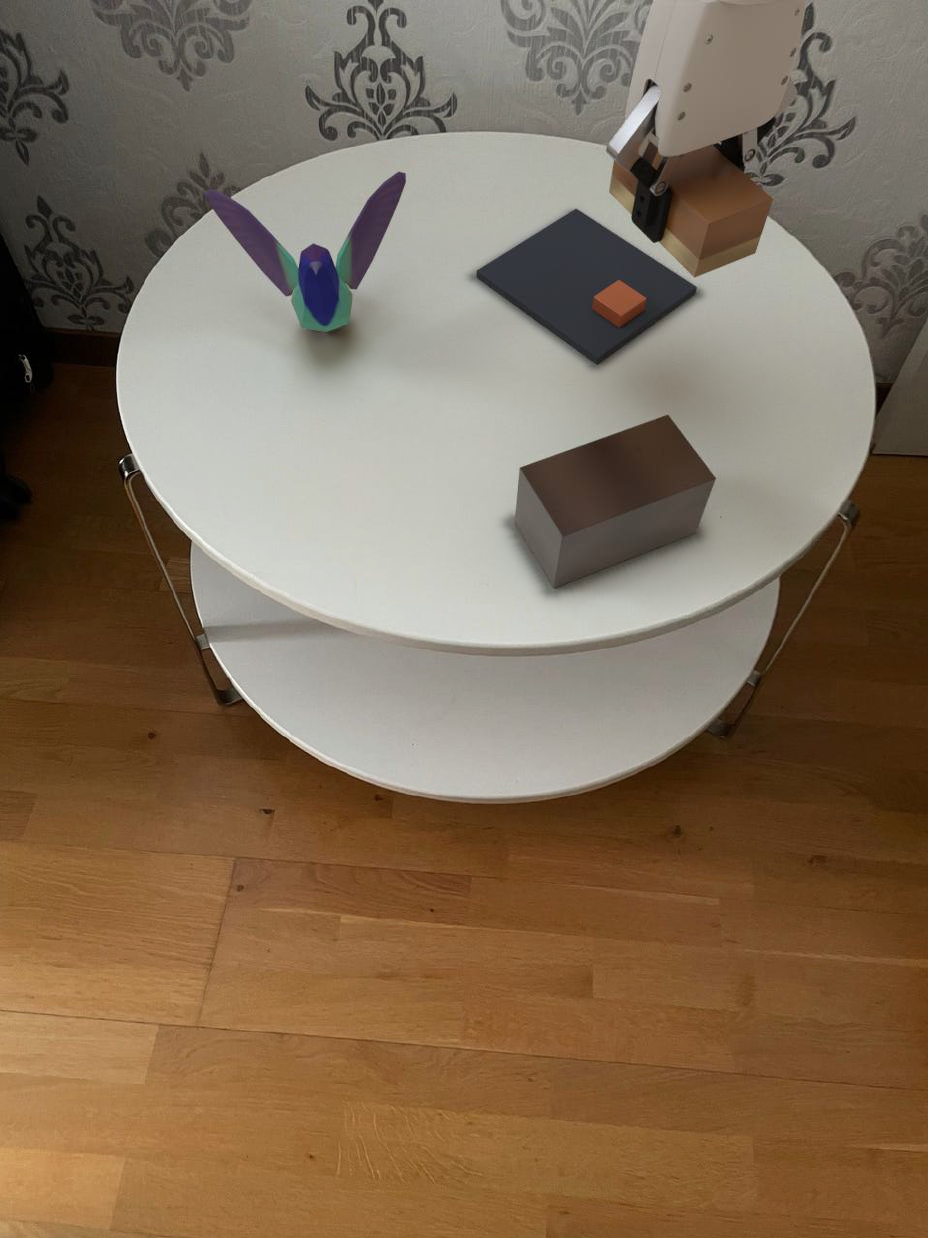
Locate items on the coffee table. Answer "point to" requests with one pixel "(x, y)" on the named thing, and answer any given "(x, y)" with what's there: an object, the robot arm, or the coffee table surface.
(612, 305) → the orange square block
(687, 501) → the stand
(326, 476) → the coffee table surface
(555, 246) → the mat
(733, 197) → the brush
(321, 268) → the decorative sculpture
